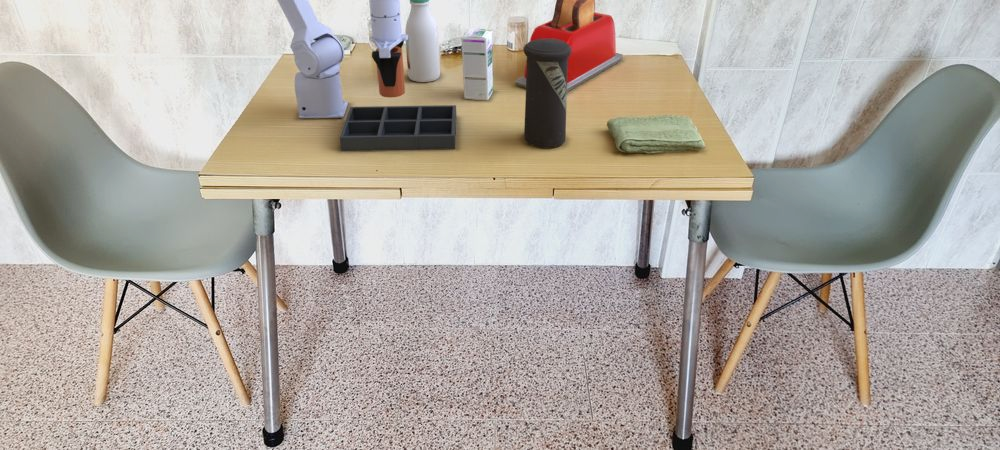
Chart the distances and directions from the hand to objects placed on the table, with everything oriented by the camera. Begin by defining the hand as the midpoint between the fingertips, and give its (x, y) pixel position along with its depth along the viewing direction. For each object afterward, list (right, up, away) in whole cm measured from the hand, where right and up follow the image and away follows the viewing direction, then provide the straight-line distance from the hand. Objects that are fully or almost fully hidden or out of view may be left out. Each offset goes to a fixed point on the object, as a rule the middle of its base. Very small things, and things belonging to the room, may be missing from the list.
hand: (391, 80), depth 147 cm
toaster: (+40, +8, +31) cm, 51 cm away
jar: (0, -2, +1) cm, 3 cm away
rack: (+2, -11, +1) cm, 11 cm away
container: (+31, -12, -1) cm, 33 cm away
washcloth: (+53, -12, -2) cm, 55 cm away
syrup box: (+17, 0, +19) cm, 25 cm away
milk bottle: (+4, +6, +28) cm, 29 cm away
